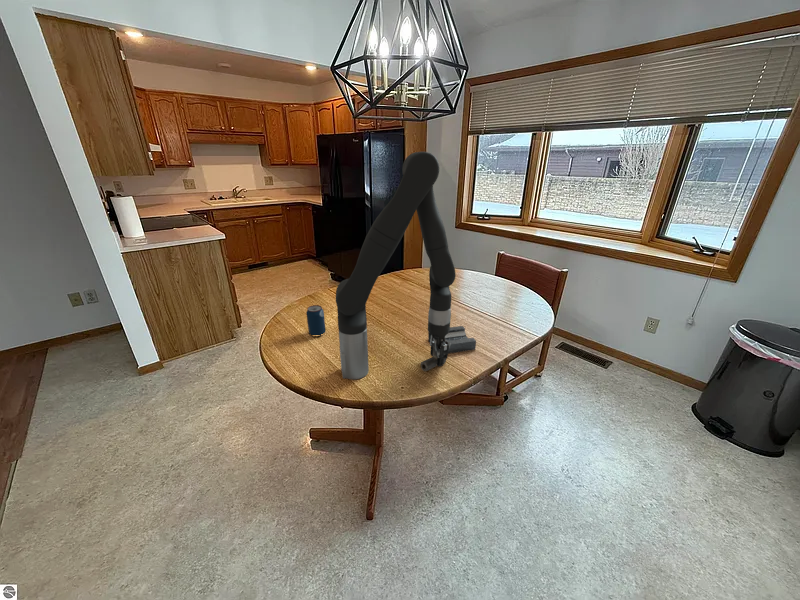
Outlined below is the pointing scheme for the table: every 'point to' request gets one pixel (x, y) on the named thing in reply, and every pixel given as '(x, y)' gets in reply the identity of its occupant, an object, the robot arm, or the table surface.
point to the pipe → (432, 359)
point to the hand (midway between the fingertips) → (436, 360)
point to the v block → (459, 340)
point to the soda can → (315, 320)
